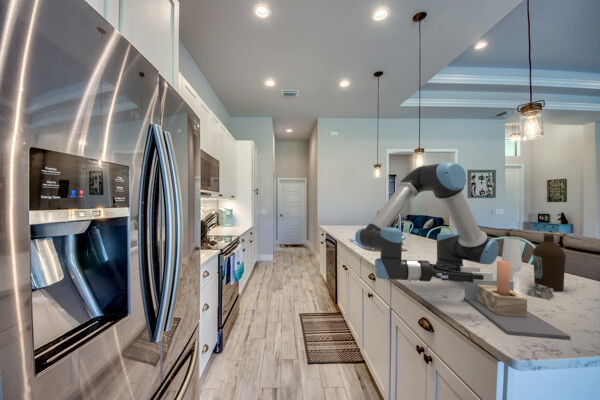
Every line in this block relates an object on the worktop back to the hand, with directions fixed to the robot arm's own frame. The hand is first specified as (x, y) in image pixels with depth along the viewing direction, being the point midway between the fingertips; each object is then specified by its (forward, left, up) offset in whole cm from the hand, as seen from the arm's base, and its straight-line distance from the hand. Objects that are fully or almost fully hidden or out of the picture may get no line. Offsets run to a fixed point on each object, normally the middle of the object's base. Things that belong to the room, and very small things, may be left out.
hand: (485, 273), depth 88 cm
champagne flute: (+8, +24, -14) cm, 29 cm away
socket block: (+4, +3, -12) cm, 13 cm away
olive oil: (+22, +49, -14) cm, 55 cm away
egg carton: (+18, +35, -14) cm, 41 cm away
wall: (+1, +10, -12) cm, 16 cm away
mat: (+6, 0, -13) cm, 15 cm away
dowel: (+5, +2, -11) cm, 12 cm away
